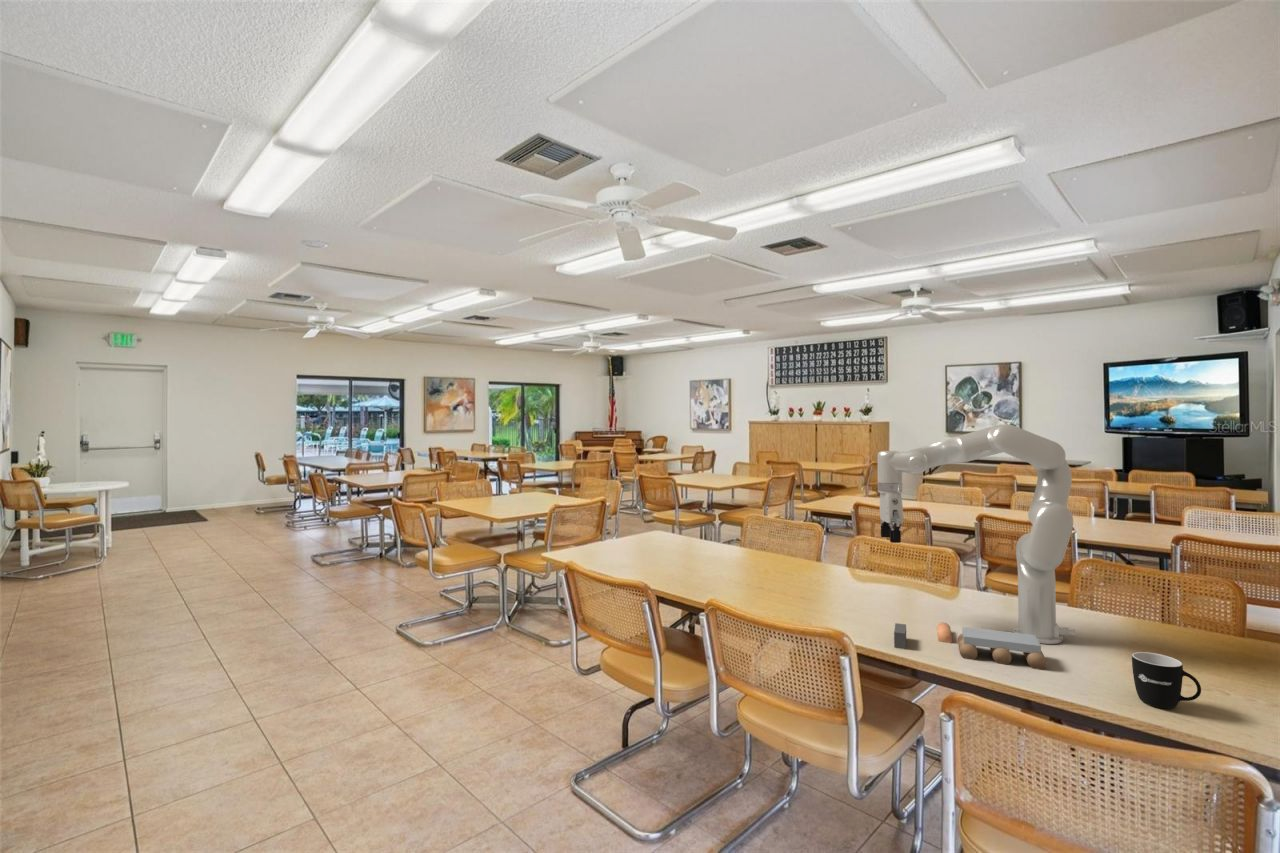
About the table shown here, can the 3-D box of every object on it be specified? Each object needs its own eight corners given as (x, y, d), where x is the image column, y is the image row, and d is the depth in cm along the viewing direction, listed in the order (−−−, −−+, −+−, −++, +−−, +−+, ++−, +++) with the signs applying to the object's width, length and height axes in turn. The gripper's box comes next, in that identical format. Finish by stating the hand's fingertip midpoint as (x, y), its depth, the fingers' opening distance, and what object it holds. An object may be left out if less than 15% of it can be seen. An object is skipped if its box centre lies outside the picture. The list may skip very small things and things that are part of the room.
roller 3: (1021, 655, 168) (1021, 639, 168) (1040, 657, 166) (1039, 642, 166) (1027, 668, 159) (1027, 651, 159) (1047, 671, 157) (1046, 654, 157)
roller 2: (957, 647, 175) (957, 632, 175) (974, 649, 173) (974, 634, 173) (959, 659, 166) (959, 643, 166) (977, 661, 164) (977, 645, 164)
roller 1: (939, 635, 186) (935, 623, 187) (952, 633, 185) (948, 621, 185) (940, 645, 177) (936, 633, 178) (953, 644, 176) (949, 631, 176)
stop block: (906, 640, 180) (906, 624, 180) (905, 650, 172) (905, 633, 172) (895, 639, 181) (895, 623, 181) (894, 649, 173) (894, 632, 173)
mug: (1128, 701, 139) (1128, 658, 139) (1136, 690, 145) (1135, 649, 145) (1199, 720, 130) (1198, 674, 130) (1204, 707, 136) (1203, 663, 136)
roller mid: (989, 651, 171) (988, 635, 171) (1006, 653, 169) (1006, 638, 169) (992, 663, 162) (992, 647, 162) (1011, 666, 160) (1011, 649, 160)
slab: (1035, 643, 166) (1035, 635, 166) (1041, 654, 158) (1040, 645, 158) (962, 634, 174) (962, 626, 174) (964, 644, 165) (964, 636, 166)
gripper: (911, 490, 187) (911, 544, 187) (893, 485, 204) (893, 535, 204) (886, 490, 188) (886, 544, 188) (870, 485, 205) (871, 535, 205)
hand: (890, 539), depth 196 cm, fingers open, 9 cm apart
